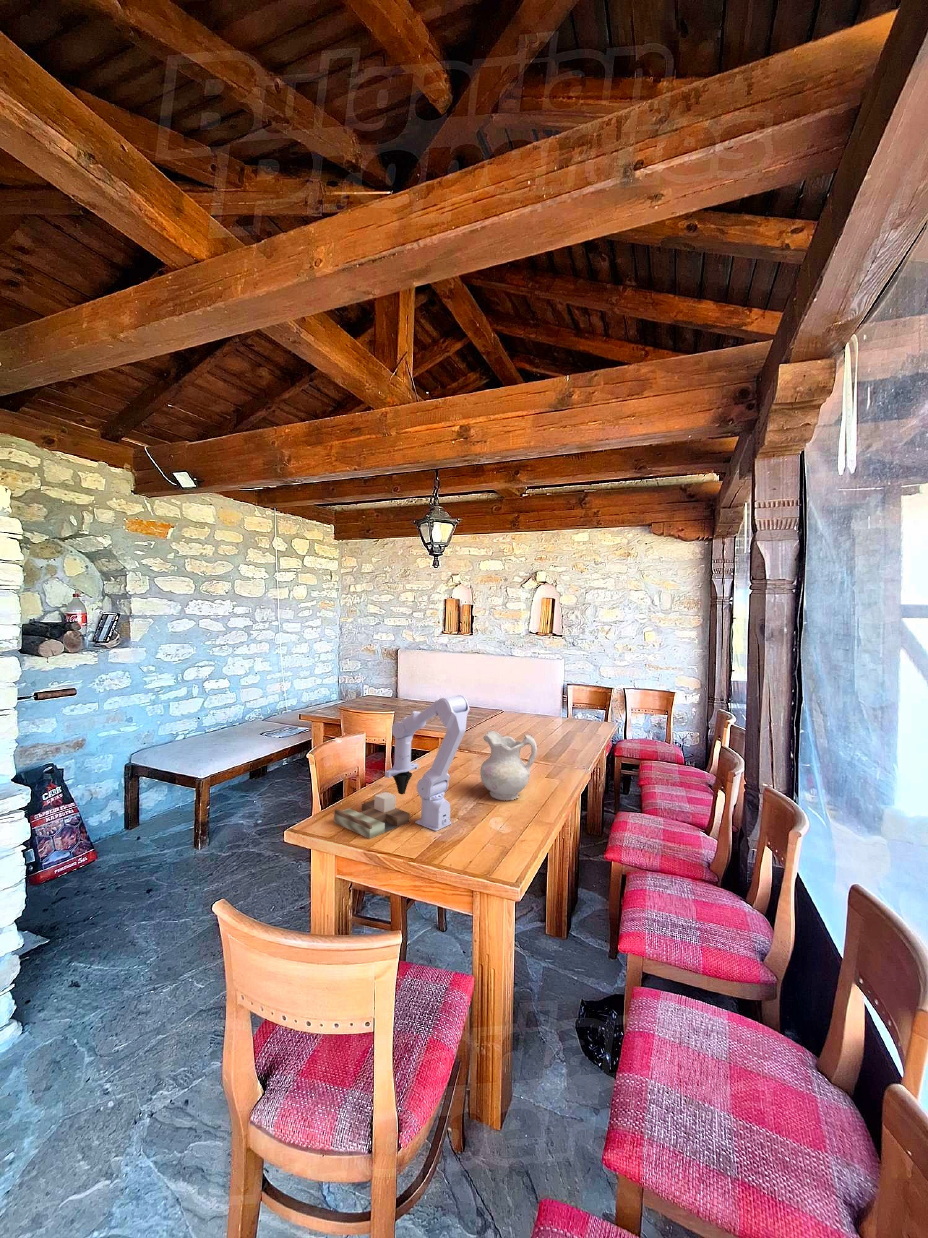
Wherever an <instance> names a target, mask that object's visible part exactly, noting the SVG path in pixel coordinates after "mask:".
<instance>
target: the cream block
mask: <svg viewBox="0 0 928 1238" xmlns="http://www.w3.org/2000/svg"><path fill="white" fill-rule="evenodd" d="M396 798H397V797H396V795H395V794H393V793H390V792H387V791H384V792H380V793H378V794H375V795H374V800H375V801H374V809H376V810H379V811H381V812H384V813H385V812H387V811H390V810H393V809H395V808H396Z"/></svg>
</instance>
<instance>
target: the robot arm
mask: <svg viewBox="0 0 928 1238" xmlns="http://www.w3.org/2000/svg"><path fill="white" fill-rule="evenodd" d="M469 705H470V704H469V702H468V700H467V698H466V697H465V696H464V695H456V696H451V697H441V698H439V699H437V700H434V702H433V703H432V704H430V705H429V706H428V707H426V708H425V709H424V710H422V711H416V710H414V711H411V712H410V715H409V716H406V717H403V718H402V720H401V721H395V722H394V723H393V724H392V726H391V733H392V736H393V737H394V764H393V766H392V767H391V768H390V769H388V770H385V771H384V777H385V778H387V779H391V778H392V777H393V779H394V783H395V784H396V788H397V793H398V794H400V795H404V794H406V790H407V787H408V784H409V782H410V780H411V778H412V776H413V773H412V772H411V771H413V770H418V769H419V766H420V765H419V764H420V763H418V762H411V761H412V741H413V739H414V738H413V737H414V735H415V733H416V732H418V730H421V729H422V728H424V727H425V726H426V725H427V721H428V720H431V719H433V718H434V717H436V716H438V717H439V719H440V720H441V723H442V724H443V726H444V727H445V728H446V732H445V735H444V736H443V739H442V741H441V744H440V746H439V749H438V750H437V753H436V755H435V757H434V760H433V762H432V765H431V768H430V769H428V770H427V771H426V772H425V773H424V774H423V775H422V777H421V779H418V781H417V784H416V791H417V793H418V796H419V797H420V798H421V809H420V810H421V812H420V819H418V820H416V821H415V824H417V825H419V826H422V827H425V828H427V829H430V830H432V831H435V832H437V831H439V830H441V829H444V828H445V827H448V826H449V825H451V824H452V821H451V804H450V802H449V801H448V800H447V799H446V798H445V795H446V793H445V792H447V790H448V788H449V781H450V778H451V776H450V774H449V773H448V771H449V769H450V767H451V765H452V763H453V760H454V758H455V756H456V753H457V751H458V749H459V746H460V744H461V742H462V740H463V738H464V735H465V733H466V730H467V719H468V718H467V716H468V715H469V712H470V709H471V708H470V706H469Z"/></svg>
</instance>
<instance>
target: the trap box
mask: <svg viewBox="0 0 928 1238" xmlns="http://www.w3.org/2000/svg"><path fill="white" fill-rule="evenodd" d="M374 801H375V799H371V800H369V801H367V802H362V804H361V811H360V812H358V811H357V810H354V809H352V808H350V807H349V808H346V809H344V810H340V809H337V808H336V809H334V814H333V815H334V816H333V817H334V818H333V819H334V820H333V822H334V823H335V824H337V825H338V826H341V827H343V828H345V829H347V830H350V831H352V832H354V833H355V834H359V835H361V836H363V837H364V838H367V839H369V840H370V839H373V838H375V837H378V836H380V835H383V834H385V833H387V832H389V831H392V830H394V829H396V828H400V827H401V826H404V825H406V824H408V823H410V817H411V815H410V814H411V813H410V812H408V811H404V810H403V809H400V808H397V807H395V809H393V810H390V811H387V812H385V813H384V812H381V811H379V810H376V809H374Z"/></svg>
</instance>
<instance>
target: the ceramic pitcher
mask: <svg viewBox="0 0 928 1238" xmlns="http://www.w3.org/2000/svg"><path fill="white" fill-rule="evenodd" d="M523 737H524V738H523V739H522V740H516V739H514V737H512V736H507V735H505V736H502V735H501V734H500V733H499V732H498V731H494V730H490V731H487V733H486V734H485V735H483V737H482V738H483V740H484V742H486V743H487V744H488V745H489V748H490V756H489V757H488V758H487V759H486V760H485V761H483V762H482V764H481V766H480V772H479V773H480V780H481V782H482V784H483V785H484V787H485V788H486V789H487V790H488V791H489V795H490V797H491V798H493V799H495V800H498V801H501V800H504V801H505V800H506V801H514V799H515V798H517V797H519V798H520V796H518V794H519V793H520V792H522V791H523V790H524V789H525V788H526V787H527V785H528V783H529V780H530V775H531V766H532V765H533V764H534V762H535V759H536V757H537V753H538V745H537V742H536V740H535V737H534V736H533V734H524V735H523ZM527 745H529V746H530V748H531V753H530V754H529V755H530V756H529V758H528V760H527V763H526V762H524V761H523V760H522V758H521V756H520V755H521V754H520V753H521V749H522V748H523V747H525V746H527ZM515 800H516V799H515ZM504 801H503V802H504Z"/></svg>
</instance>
